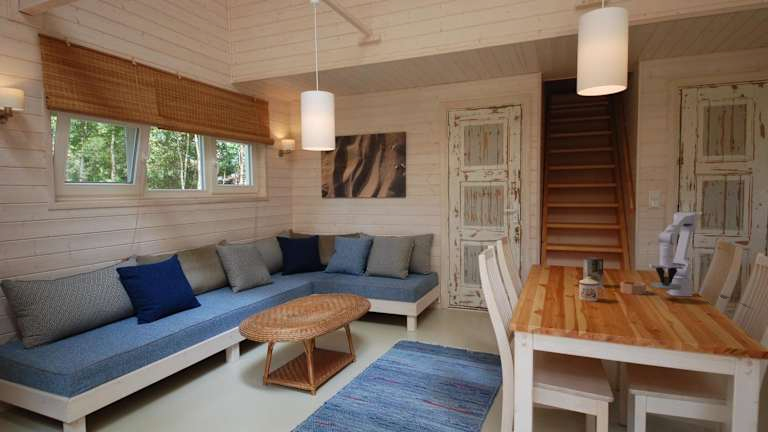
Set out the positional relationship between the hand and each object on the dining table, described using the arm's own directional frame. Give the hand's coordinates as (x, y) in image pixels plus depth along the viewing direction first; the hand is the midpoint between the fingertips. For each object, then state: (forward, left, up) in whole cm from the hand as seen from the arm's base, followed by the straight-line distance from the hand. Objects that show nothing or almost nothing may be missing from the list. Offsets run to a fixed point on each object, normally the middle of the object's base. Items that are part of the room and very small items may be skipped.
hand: (665, 282), depth 219 cm
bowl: (+11, -13, -8) cm, 19 cm away
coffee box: (+28, -26, -9) cm, 39 cm away
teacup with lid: (+36, +7, -9) cm, 38 cm away
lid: (0, 0, -2) cm, 2 cm away
